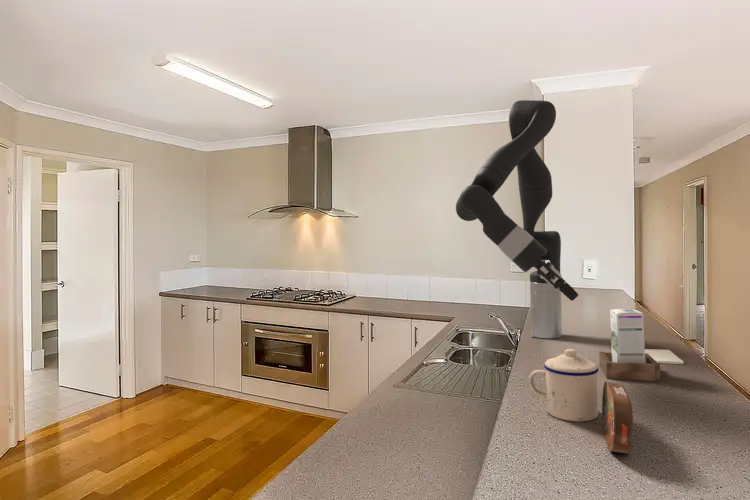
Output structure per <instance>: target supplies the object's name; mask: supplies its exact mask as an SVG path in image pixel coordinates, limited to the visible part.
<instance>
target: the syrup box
mask: <svg viewBox="0 0 750 500" xmlns="http://www.w3.org/2000/svg"><path fill="white" fill-rule="evenodd" d="M609 311H610V312H609V315H610V317H609V318H610V345H611V348H610V349H611V351H610V352H612V362H624V363H645V349H646V347H645V325H644V323H645V322H644V320H645V319H644V313H643V312H641V311H639V310H637V309H633V308H615V309H609Z"/></svg>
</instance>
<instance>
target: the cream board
mask: <svg viewBox="0 0 750 500" xmlns="http://www.w3.org/2000/svg"><path fill="white" fill-rule="evenodd" d="M645 353H648V354H649V355H650V356H651V357H652V358H653V359H654V360H655V361H656V362H657V363H658V364H668V365H669V364H670V365H684V363H685V362H684V361H683V360H682V359H681V358H679V356H677V355H676V354H675V353H673V352H672V351H671V350H670V349H655V348H654V349H652V348H651V349H649V348H645Z"/></svg>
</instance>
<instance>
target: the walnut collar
mask: <svg viewBox="0 0 750 500" xmlns="http://www.w3.org/2000/svg"><path fill="white" fill-rule="evenodd" d="M598 357H599V358H598V360H599V361H598V362H599V368H600V369H601V371H602V373H603V374H604V376H605V378H606V379H611V380H612V379H613V380H626V381H627V380H630V381H631V380H632V381H647V382H650V381H651V382H661V365H660V363H657V362H656V361H655V360H654V359H653V358H652V357H651V356H650V355H649V354H648V353H645V363H624V362H612V351H603V350H602V351H599V353H598Z"/></svg>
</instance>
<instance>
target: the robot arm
mask: <svg viewBox="0 0 750 500" xmlns="http://www.w3.org/2000/svg"><path fill="white" fill-rule="evenodd" d="M556 113H557V110H556V107H555V104H553V103H552V101H551V102H550V101H548V100H541V99H540V100H529V99H527V100H526V99H523V100H520V99H519V100H517V101H515V102H513V104H512V105H511V107H510V110H509V113H508V125H509V126H508V127H509V132H510V137H511V140H510V141H509V142H507V143H506V144H504V145H502V146H500V147H499V148H497V149H496V150H495V151H494V152H493V153H491V154H490V155H489V157H487V159H486V160H485V161H484V163H483V164H482V165H481V167H480V168H479V169H478V171H477V172H476V174H475V176H474V178H473V180H472V182H471V183H470V184H469V185H467V186H466V187H464V189H463V190H462V191H461V193H460V195H459V197H458V199H457V201H456V203H455V211H456V215H457V217H458V218H459V219H460V220H463V221H465V222H472V221H475V220H478V221H479V222H480V223H481V224H482V231H483V233H484V235H485V236H486V237H487V238H488V239H489V240H490V241H491V242H492V243H493V244H495V245H496V247H498V248H499V249H500V251H501V252H502V253H503V254H504V256H506V257H507V258H508V259H510V261H511V262H513V263H514V264H515V265H516V266H517V267H518V268H519V269H520V270H521V271H523V272H524V273H527V272H528V271H530V270H531V269H532V268H535V269H536V270H535V271H532V272H531V273H530V275H529V291H530V292H529V293H530V299H529V300H530V336H531V338H538V339H539V338H540V339H558V338H559V339H560V338H562V337H563V324H562V323H563V322H562V320H563V319H562V317H563V315H562V314H563V313H562V294H563V295H564V296H565V297H566V298H567V299H569V301H574V300H576V299H577V297H579V293H578V292H577V291H576V290H575V288H573V287H572V286H571V285H570V284H569V283H568V282H567V280H565V279H564V278H563V276H562V274H561V252H562V250H561V248H562V241H561V235H560V233H559V232H558V231H555V230H548V231H547V230H546V231H535V227H536V225H537V223H538V221H539V219H540V217H542V216H541V215H542V214H543V213H544V212H545V211H546V209H547V207H548V206H549V205H550V202H551V201H552V198H553V182H552V174H551V171H550V170H549V167H548V166H547V165H546V163H545V162H544V161H543V159H542V158H541V156H540V155H539V153H538V151H537V150H536V148H535V147H537V145H538V144H540V142H541V141H543V139H544V138H545V137H547V136H548V134H549V133H550V132H551V131H552V129H553V127H554V126H555V122H556V119H557V118H556V117H557V114H556ZM515 168H516V171H517V179H518V183H517V184H518V191H519V198H520V206H521V211H522V212H521V214H522V227H521V226H520V225H518V224H517V223H516V222H515V221H514V220H513V219H512V218H511V217H509V216H508V215H507V214H506V213H505V212H504V211H503V208H502V207H501V206H500V204H499V203H498V202H497V200H496V199H495V197H494V195H495V194H496V193H497V192H498V190H500V188H501V187H502V186H503V185H504V183H505V182H506V180H507V179H508V178H509V176H510V174H511V173H512V172H513V171H514V169H515ZM546 261H547V262H546Z"/></svg>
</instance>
